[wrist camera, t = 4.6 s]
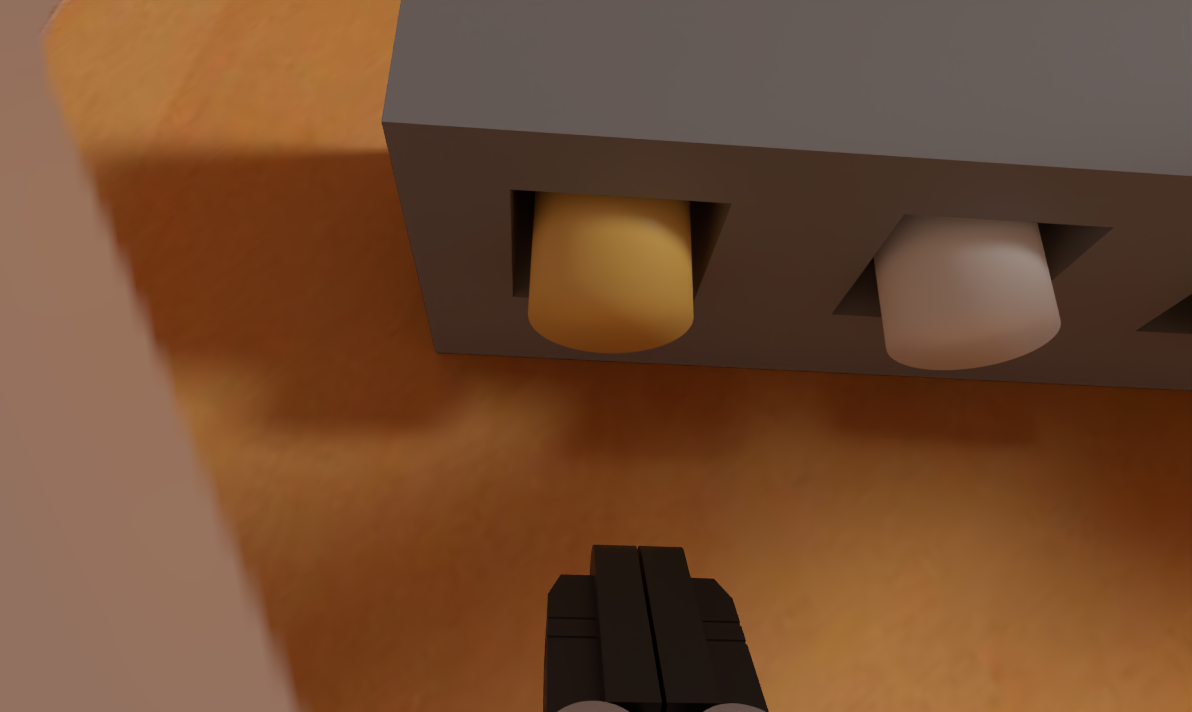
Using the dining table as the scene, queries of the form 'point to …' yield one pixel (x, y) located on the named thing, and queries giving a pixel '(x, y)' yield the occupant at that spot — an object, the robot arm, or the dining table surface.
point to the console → (807, 164)
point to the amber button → (610, 271)
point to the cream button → (964, 292)
